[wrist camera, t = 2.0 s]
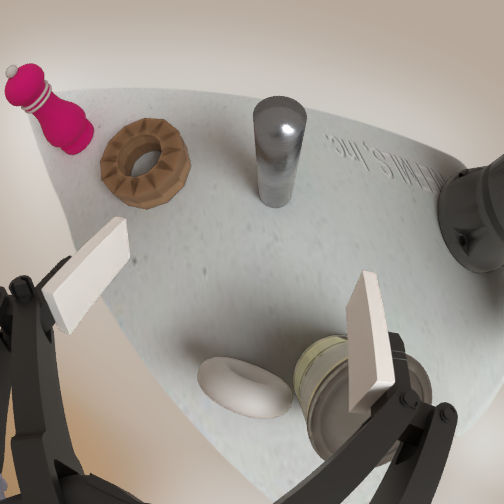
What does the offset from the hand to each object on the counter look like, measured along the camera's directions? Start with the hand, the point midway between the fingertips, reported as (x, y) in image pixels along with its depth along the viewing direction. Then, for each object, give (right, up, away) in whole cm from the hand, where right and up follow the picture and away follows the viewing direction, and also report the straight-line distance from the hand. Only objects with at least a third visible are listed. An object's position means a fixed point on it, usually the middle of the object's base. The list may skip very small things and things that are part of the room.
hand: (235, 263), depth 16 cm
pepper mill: (-27, +19, +24) cm, 41 cm away
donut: (0, -14, +17) cm, 22 cm away
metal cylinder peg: (+4, +8, +21) cm, 22 cm away
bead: (-13, +12, +22) cm, 28 cm away
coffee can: (+11, -14, +16) cm, 24 cm away
